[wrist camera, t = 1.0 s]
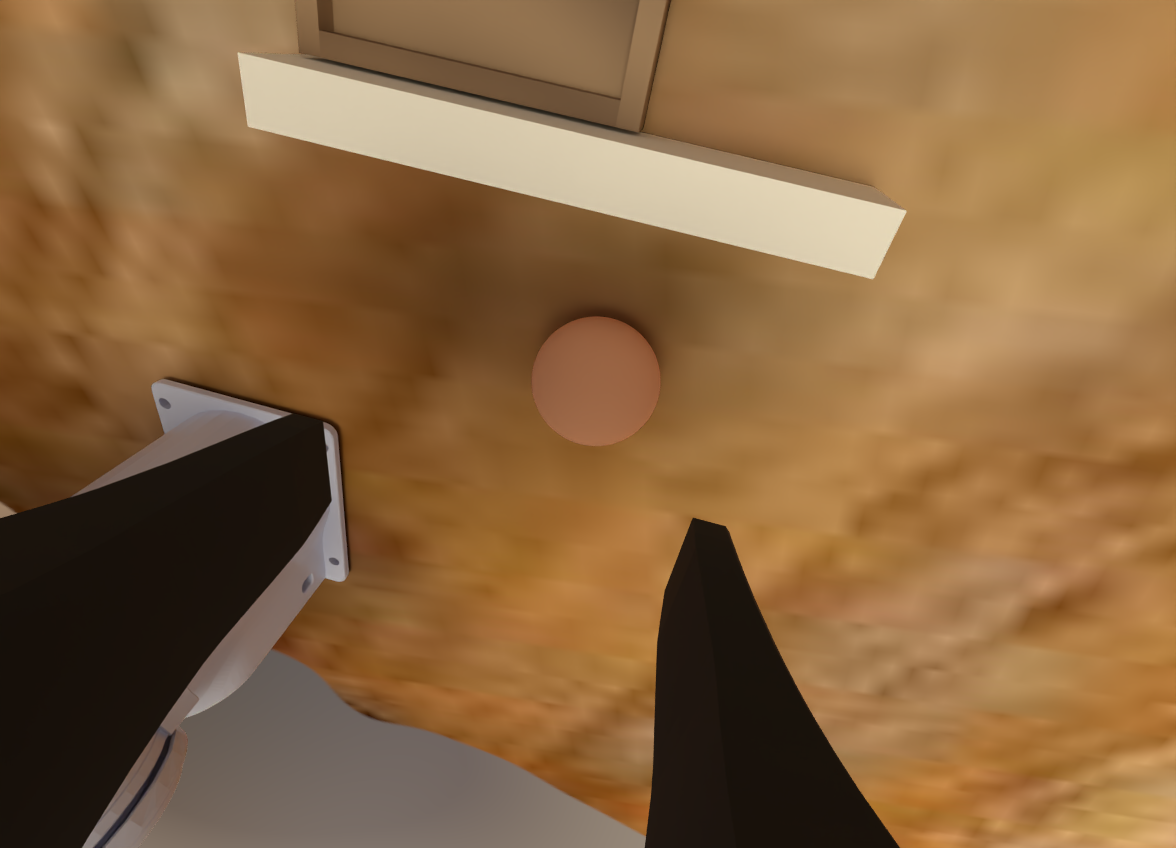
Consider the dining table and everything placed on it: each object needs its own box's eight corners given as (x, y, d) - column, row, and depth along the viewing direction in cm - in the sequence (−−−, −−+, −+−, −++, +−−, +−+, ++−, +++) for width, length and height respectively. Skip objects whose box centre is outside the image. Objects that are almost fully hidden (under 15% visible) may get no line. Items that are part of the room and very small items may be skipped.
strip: (848, 246, 16) (873, 279, 13) (317, 117, 17) (247, 126, 14) (874, 186, 15) (906, 210, 12) (312, 54, 16) (237, 52, 13)
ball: (648, 417, 20) (636, 486, 17) (541, 389, 20) (508, 452, 17) (679, 314, 18) (671, 371, 15) (558, 284, 18) (524, 333, 15)
